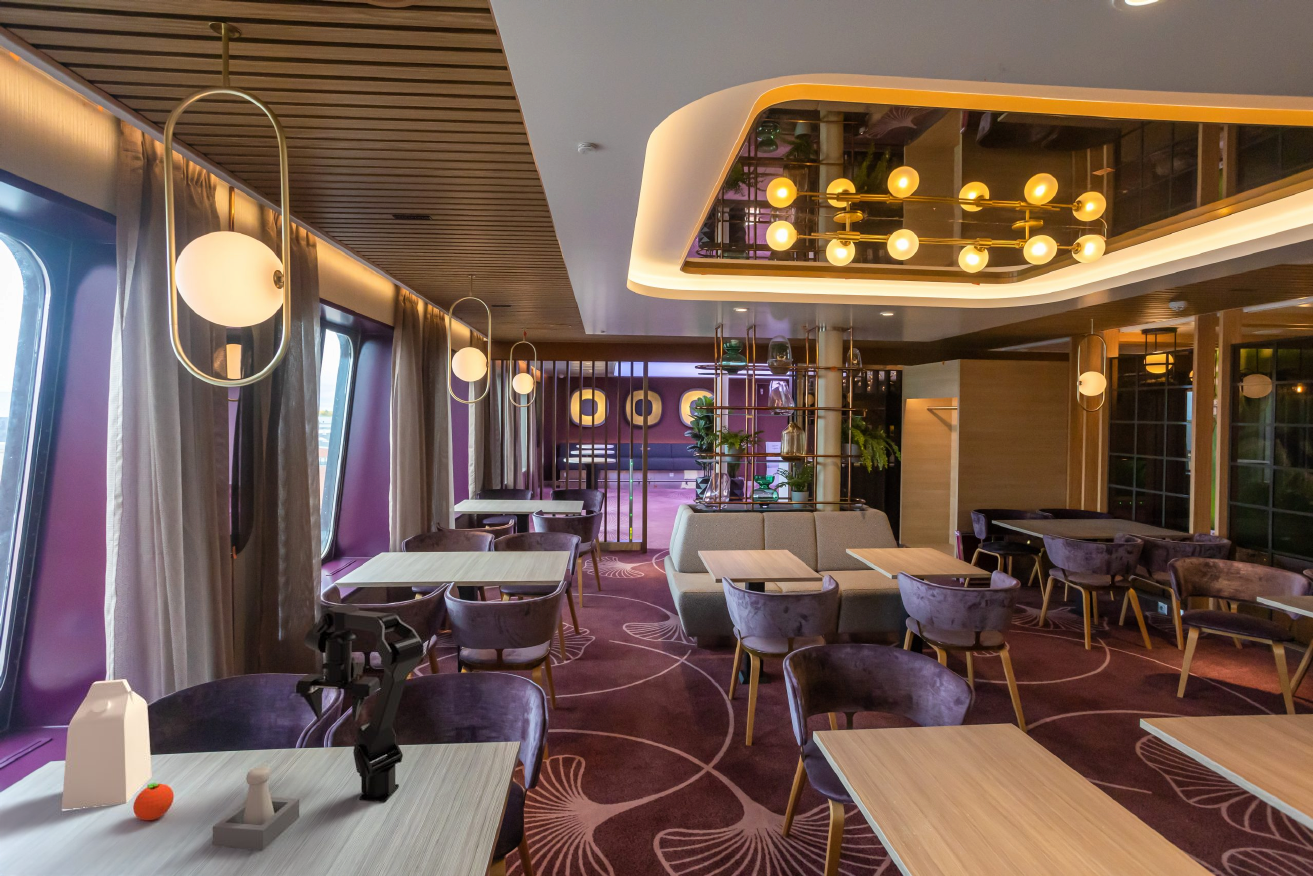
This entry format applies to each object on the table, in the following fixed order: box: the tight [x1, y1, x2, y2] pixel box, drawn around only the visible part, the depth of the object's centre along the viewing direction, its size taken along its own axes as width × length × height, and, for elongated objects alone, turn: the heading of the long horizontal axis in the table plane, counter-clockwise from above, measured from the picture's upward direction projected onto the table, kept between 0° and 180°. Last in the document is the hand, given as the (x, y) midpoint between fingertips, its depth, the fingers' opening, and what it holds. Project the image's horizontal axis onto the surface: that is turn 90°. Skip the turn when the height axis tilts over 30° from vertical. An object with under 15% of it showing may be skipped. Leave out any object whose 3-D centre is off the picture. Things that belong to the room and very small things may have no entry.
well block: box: [212, 796, 300, 851], centre depth 133 cm, size 11×11×4 cm
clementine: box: [132, 782, 175, 821], centre depth 138 cm, size 8×7×7 cm
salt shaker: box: [242, 765, 275, 825], centre depth 133 cm, size 6×6×13 cm
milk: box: [61, 678, 153, 810], centre depth 146 cm, size 12×12×26 cm
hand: (337, 719), depth 156 cm, fingers open, 9 cm apart
